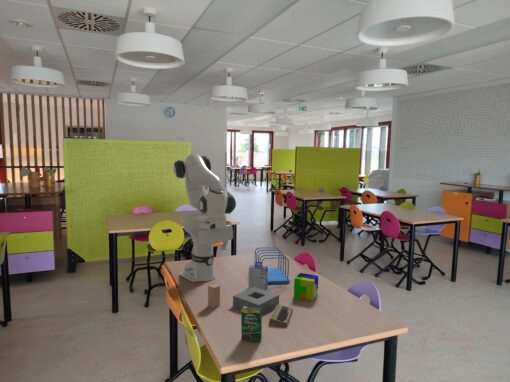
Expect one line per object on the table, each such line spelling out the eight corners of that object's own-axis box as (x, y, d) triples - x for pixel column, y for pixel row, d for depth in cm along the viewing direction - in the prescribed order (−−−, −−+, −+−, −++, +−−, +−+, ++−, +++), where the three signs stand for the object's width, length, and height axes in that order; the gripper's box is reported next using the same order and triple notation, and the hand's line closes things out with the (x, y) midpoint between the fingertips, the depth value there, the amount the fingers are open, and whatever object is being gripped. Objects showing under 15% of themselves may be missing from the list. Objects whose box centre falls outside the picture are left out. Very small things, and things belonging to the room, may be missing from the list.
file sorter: (289, 283, 205) (290, 257, 204) (260, 285, 202) (260, 258, 201) (279, 269, 230) (280, 246, 228) (252, 270, 227) (253, 247, 225)
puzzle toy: (317, 293, 190) (318, 275, 190) (312, 300, 181) (313, 281, 180) (299, 290, 195) (300, 272, 194) (293, 297, 186) (294, 278, 185)
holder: (232, 305, 173) (233, 295, 173) (253, 296, 186) (253, 286, 185) (258, 315, 163) (259, 304, 163) (278, 304, 176) (279, 294, 175)
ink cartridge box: (267, 287, 198) (268, 262, 197) (266, 291, 193) (266, 265, 191) (250, 285, 200) (250, 260, 199) (248, 289, 195) (248, 263, 193)
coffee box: (240, 340, 141) (240, 308, 140) (242, 336, 144) (242, 305, 143) (260, 343, 139) (260, 310, 138) (261, 339, 142) (262, 307, 141)
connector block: (208, 305, 173) (208, 285, 172) (213, 303, 176) (214, 283, 175) (213, 308, 170) (214, 287, 169) (219, 305, 173) (220, 285, 172)
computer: (287, 327, 153) (287, 320, 153) (268, 325, 155) (269, 317, 155) (292, 312, 168) (293, 305, 168) (276, 310, 170) (276, 303, 170)
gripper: (226, 219, 180) (226, 246, 182) (196, 225, 164) (196, 254, 166) (236, 221, 177) (236, 248, 178) (206, 227, 161) (206, 257, 162)
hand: (216, 251), depth 171 cm, fingers open, 8 cm apart
